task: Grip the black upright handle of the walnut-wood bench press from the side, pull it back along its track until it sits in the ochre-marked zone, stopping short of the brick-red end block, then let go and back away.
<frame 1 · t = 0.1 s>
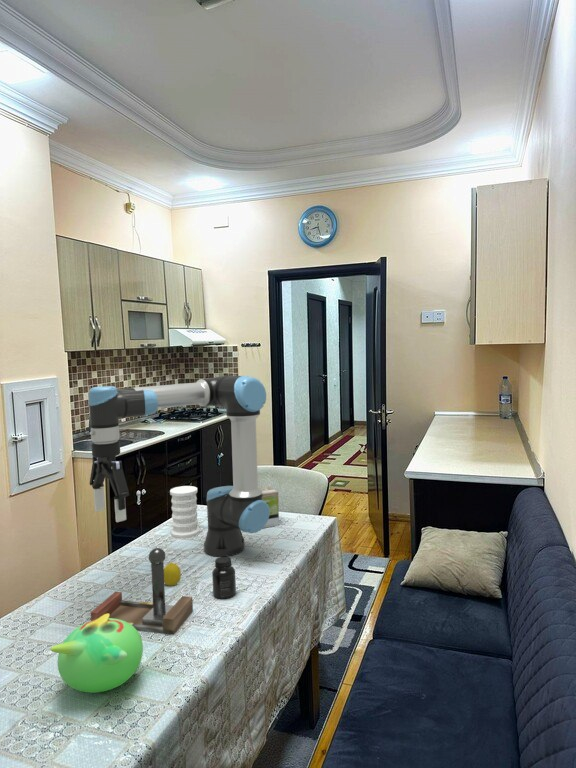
hand: (110, 515, 146), 28 cm above the table, tool pointing down, fingers open, 13 cm apart
decorative container: (185, 533, 209), on the table
toy bird: (102, 686, 115), on the table
lemon: (172, 588, 162), on the table
press handle: (158, 584, 139), point 11 cm above the table, slide at 0.0 cm
tea box: (258, 525, 216), on the table
supplement bottle: (224, 599, 154), on the table
press base: (160, 624, 140), on the table
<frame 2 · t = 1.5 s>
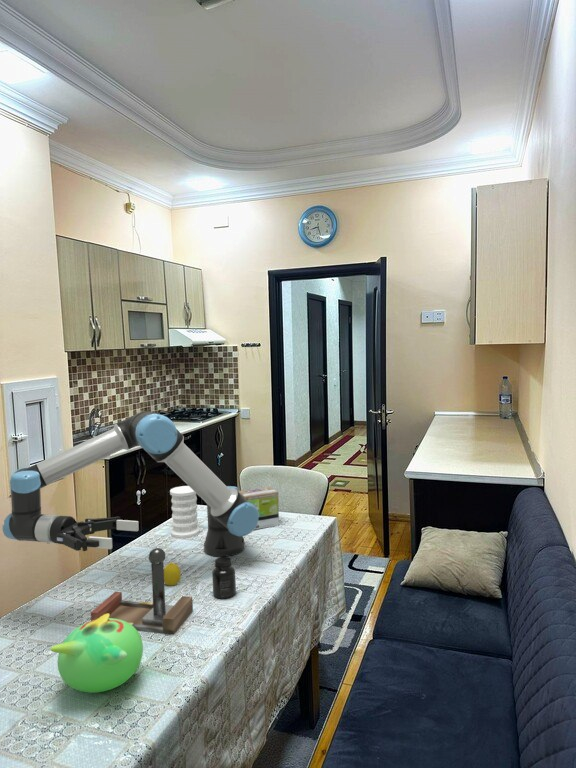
hand: (125, 534, 140), 25 cm above the table, tool horizontal, fingers open, 13 cm apart
nothing on the table moved.
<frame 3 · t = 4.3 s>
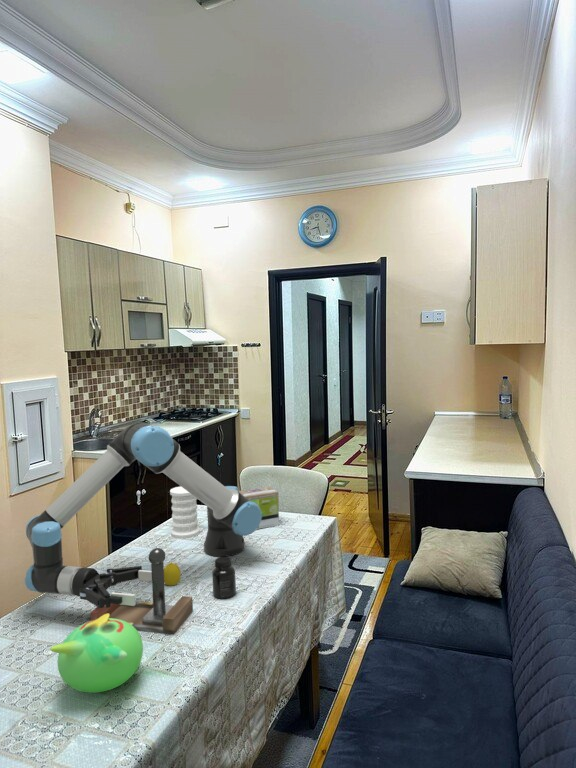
hand: (148, 588, 139), 10 cm above the table, tool horizontal, fingers open, 13 cm apart
nothing on the table moved.
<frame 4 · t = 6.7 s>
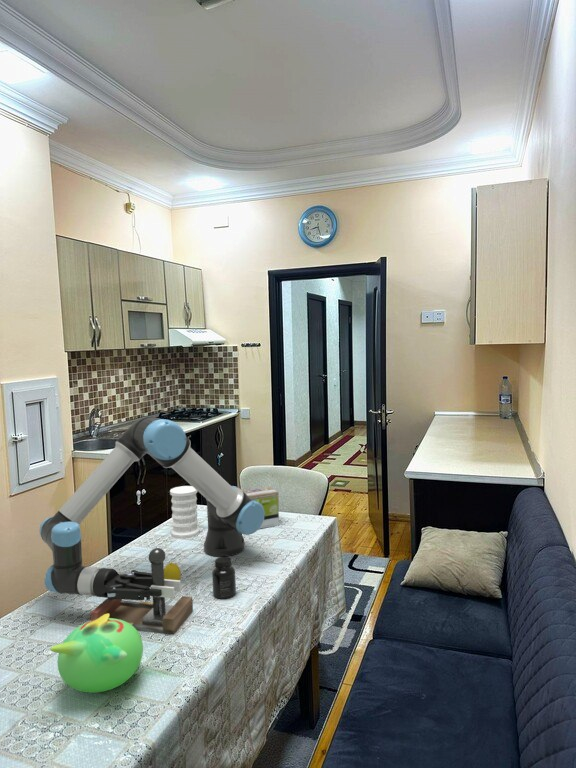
hand: (177, 589, 138), 10 cm above the table, tool horizontal, fingers closed on press handle, 3 cm apart
press handle: (158, 584, 139), point 11 cm above the table, slide at 0.0 cm, touching gripper
everything else where it was.
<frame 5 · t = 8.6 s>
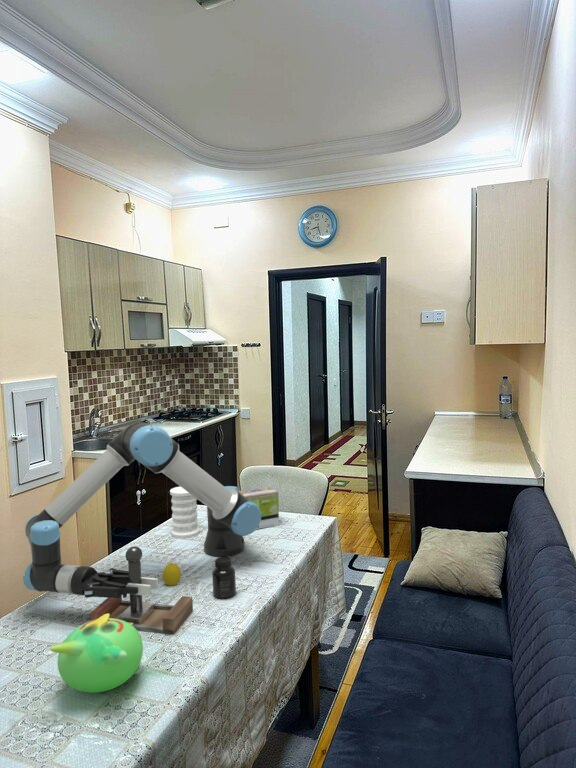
hand: (153, 587, 139), 10 cm above the table, tool horizontal, fingers closed on press handle, 3 cm apart
press handle: (135, 582, 141), point 11 cm above the table, slide at 6.9 cm, touching gripper
everything else where it was.
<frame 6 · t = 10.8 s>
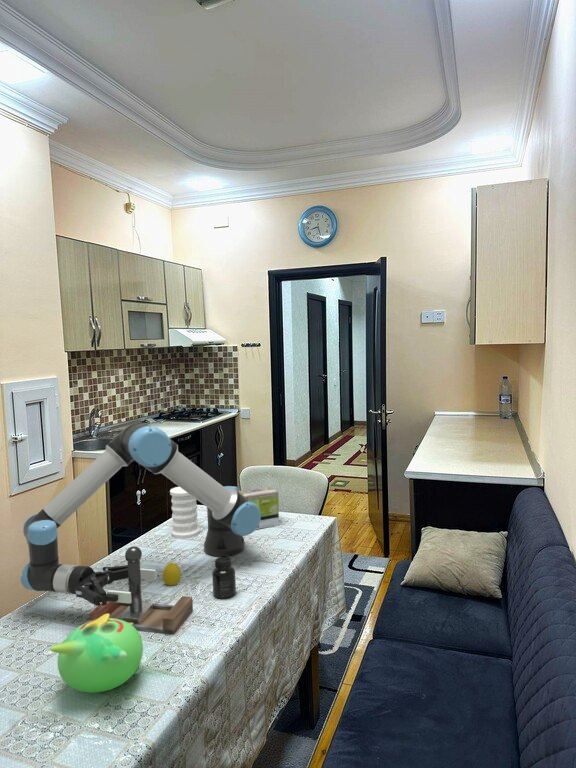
hand: (143, 585, 140), 11 cm above the table, tool horizontal, fingers open, 13 cm apart
press handle: (134, 582, 141), point 11 cm above the table, slide at 7.0 cm
everything else where it was.
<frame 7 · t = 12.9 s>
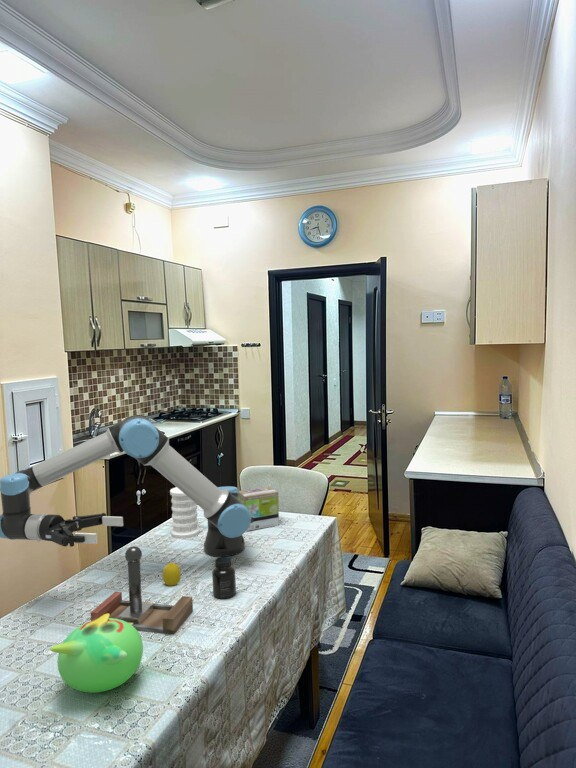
hand: (110, 529, 149), 23 cm above the table, tool horizontal, fingers open, 13 cm apart
nothing on the table moved.
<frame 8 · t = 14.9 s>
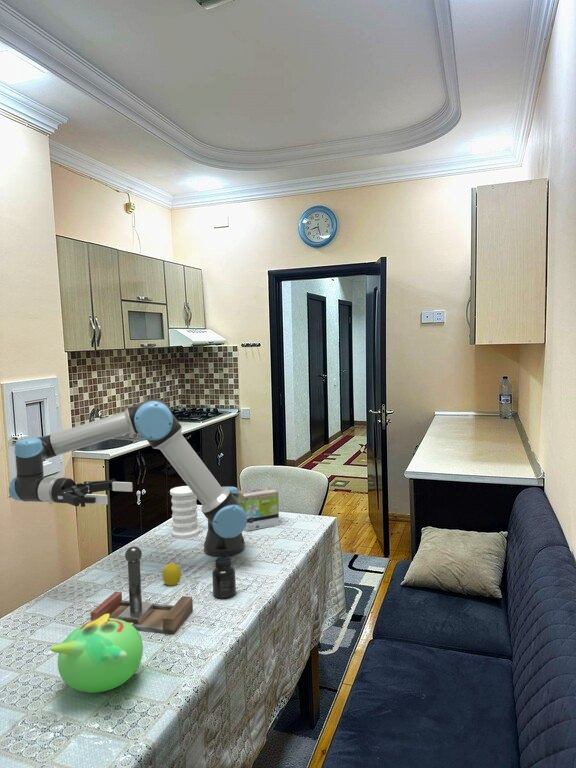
hand: (119, 493, 154), 32 cm above the table, tool horizontal, fingers open, 13 cm apart
nothing on the table moved.
at the end: press handle slide at 7.0 cm; the gripper is holding nothing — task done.
